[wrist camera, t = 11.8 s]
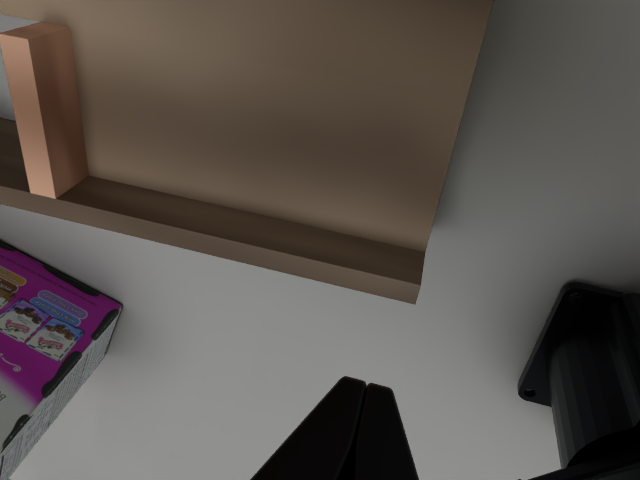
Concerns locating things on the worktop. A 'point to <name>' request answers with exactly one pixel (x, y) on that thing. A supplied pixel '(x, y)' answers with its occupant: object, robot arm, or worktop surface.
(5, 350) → the candy bar box
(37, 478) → the worktop surface
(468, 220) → the worktop surface
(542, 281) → the worktop surface
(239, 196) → the brown wooden tray
